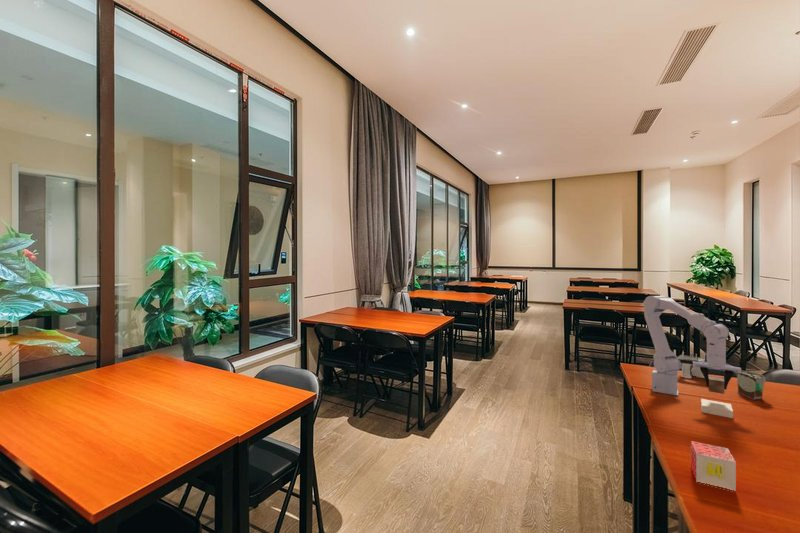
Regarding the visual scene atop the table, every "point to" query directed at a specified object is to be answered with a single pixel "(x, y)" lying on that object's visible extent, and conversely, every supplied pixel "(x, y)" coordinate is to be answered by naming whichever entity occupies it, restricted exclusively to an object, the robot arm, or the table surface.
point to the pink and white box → (713, 465)
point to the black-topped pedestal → (691, 365)
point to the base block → (716, 408)
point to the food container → (750, 384)
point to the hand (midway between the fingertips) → (716, 387)
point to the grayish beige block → (716, 385)
